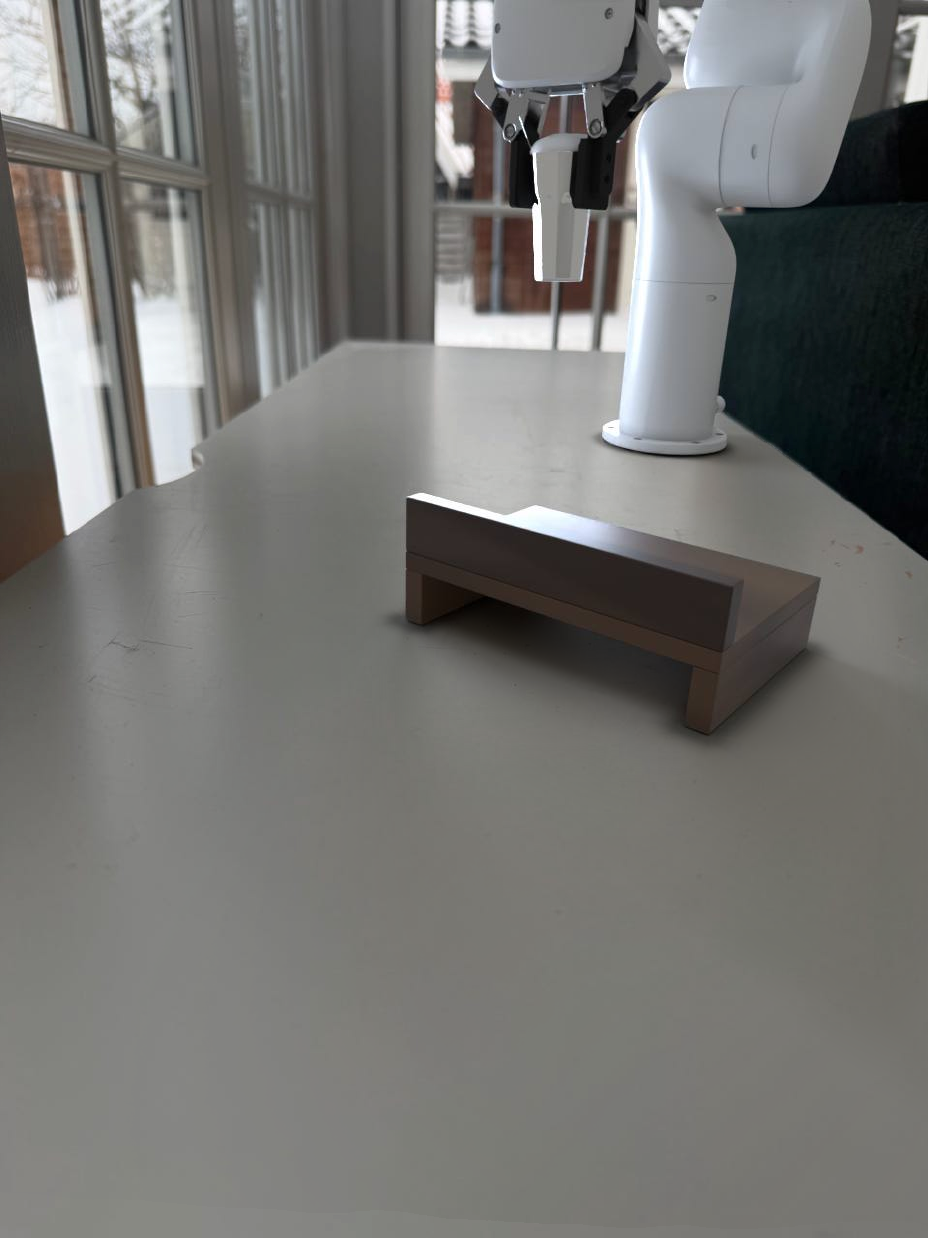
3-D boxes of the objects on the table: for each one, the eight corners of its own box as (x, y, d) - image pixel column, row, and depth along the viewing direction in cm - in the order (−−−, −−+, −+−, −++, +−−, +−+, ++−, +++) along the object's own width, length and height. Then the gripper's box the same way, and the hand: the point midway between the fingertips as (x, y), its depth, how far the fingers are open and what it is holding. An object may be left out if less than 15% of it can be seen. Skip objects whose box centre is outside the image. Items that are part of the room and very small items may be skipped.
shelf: (531, 564, 57) (538, 457, 54) (806, 647, 47) (833, 521, 44) (404, 619, 49) (405, 496, 46) (708, 735, 38) (733, 586, 36)
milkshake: (510, 279, 63) (514, 121, 60) (584, 279, 64) (592, 122, 60) (518, 281, 59) (523, 111, 55) (597, 281, 60) (607, 112, 56)
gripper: (743, -142, 50) (698, 213, 57) (506, -88, 60) (493, 209, 67) (681, -189, 45) (640, 208, 52) (432, -122, 54) (427, 205, 62)
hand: (557, 205), depth 59 cm, fingers closed on milkshake, 4 cm apart
